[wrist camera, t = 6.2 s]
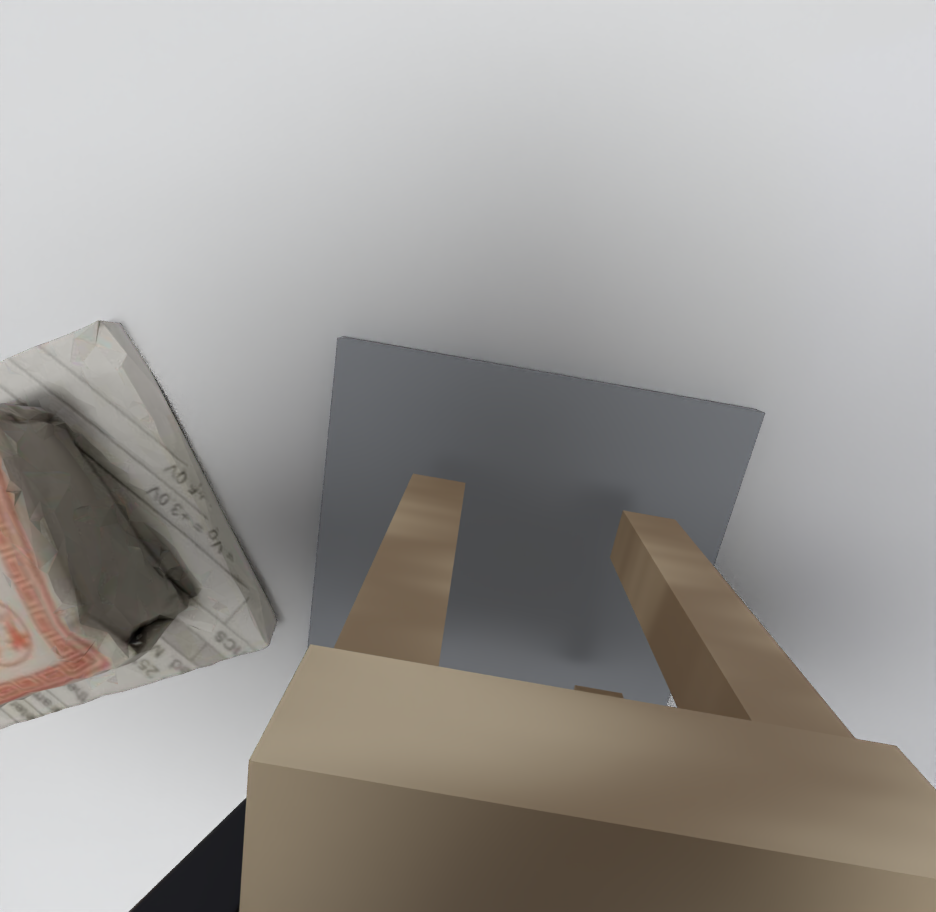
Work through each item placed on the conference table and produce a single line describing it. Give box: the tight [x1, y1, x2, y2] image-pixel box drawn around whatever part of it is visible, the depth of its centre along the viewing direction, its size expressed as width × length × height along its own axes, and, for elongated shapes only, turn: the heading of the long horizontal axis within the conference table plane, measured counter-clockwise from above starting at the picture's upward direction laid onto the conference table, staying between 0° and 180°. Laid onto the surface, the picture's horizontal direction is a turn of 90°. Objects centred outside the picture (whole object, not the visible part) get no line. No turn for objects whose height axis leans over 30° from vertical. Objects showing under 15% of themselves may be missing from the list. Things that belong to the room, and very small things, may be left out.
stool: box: [239, 474, 936, 912], centre depth 9 cm, size 6×6×8 cm
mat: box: [308, 337, 765, 706], centre depth 15 cm, size 11×11×1 cm
